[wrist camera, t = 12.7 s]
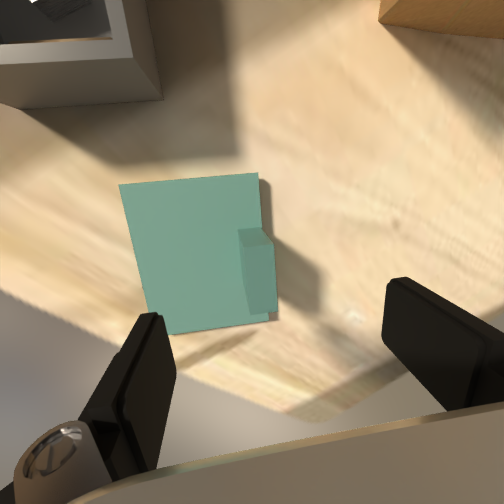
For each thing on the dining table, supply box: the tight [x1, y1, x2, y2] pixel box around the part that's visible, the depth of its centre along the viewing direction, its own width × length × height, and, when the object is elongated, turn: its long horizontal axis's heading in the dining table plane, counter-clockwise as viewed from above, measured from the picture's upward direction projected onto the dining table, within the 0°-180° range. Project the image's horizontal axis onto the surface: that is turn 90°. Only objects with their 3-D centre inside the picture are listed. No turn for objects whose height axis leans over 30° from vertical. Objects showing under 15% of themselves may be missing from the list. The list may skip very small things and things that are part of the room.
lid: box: [119, 173, 278, 335], centre depth 20 cm, size 11×14×8 cm
